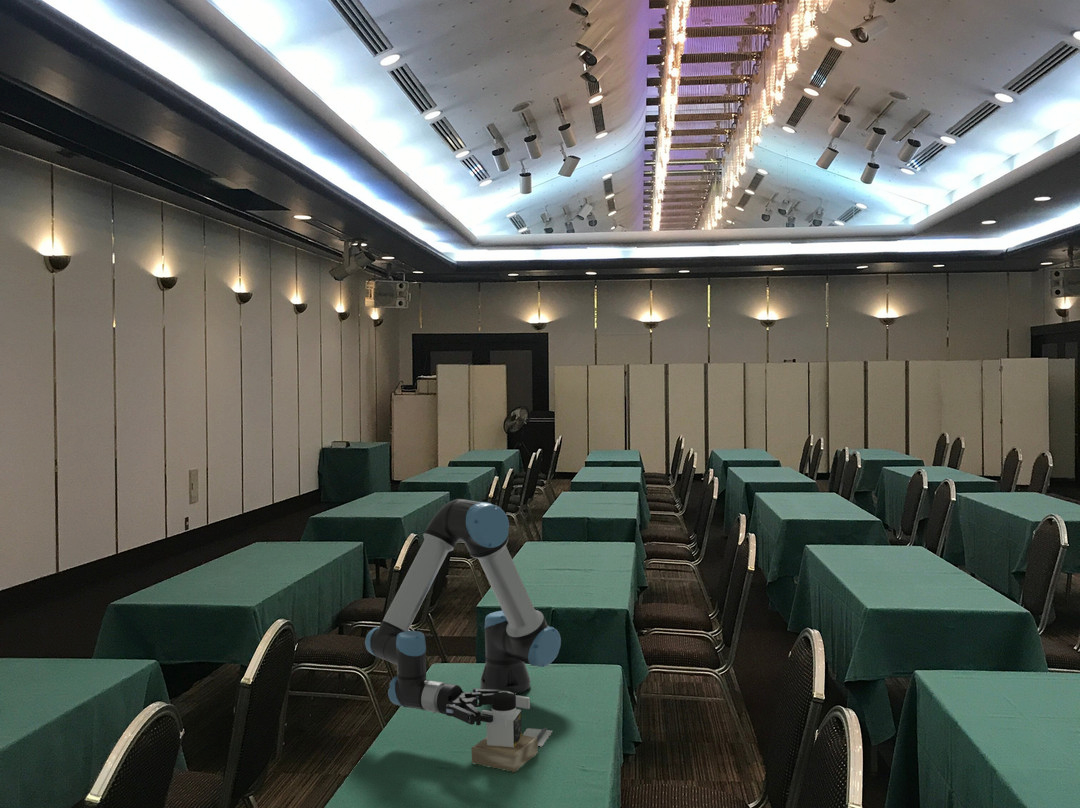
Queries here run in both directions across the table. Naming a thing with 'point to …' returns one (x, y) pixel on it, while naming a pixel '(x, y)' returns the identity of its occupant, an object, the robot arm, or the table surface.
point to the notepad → (538, 734)
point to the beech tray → (505, 754)
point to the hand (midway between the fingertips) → (517, 711)
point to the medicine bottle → (512, 730)
